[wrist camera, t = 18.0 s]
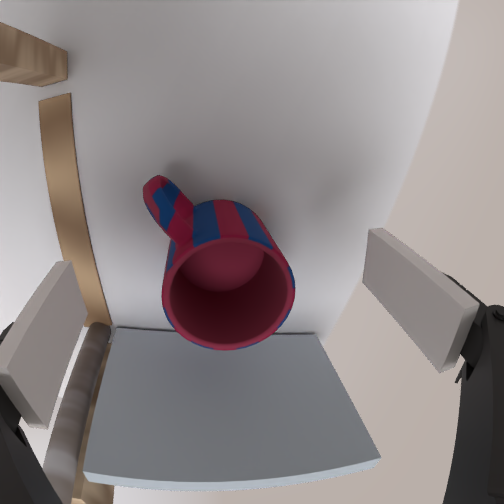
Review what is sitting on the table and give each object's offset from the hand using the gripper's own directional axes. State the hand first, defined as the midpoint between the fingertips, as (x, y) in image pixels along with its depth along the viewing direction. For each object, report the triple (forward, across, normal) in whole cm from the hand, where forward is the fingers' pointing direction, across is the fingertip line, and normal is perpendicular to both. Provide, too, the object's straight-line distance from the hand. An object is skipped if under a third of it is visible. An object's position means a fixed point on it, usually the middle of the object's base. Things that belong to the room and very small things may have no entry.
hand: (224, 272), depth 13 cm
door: (+8, -1, -11) cm, 13 cm away
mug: (+9, 0, -1) cm, 9 cm away
